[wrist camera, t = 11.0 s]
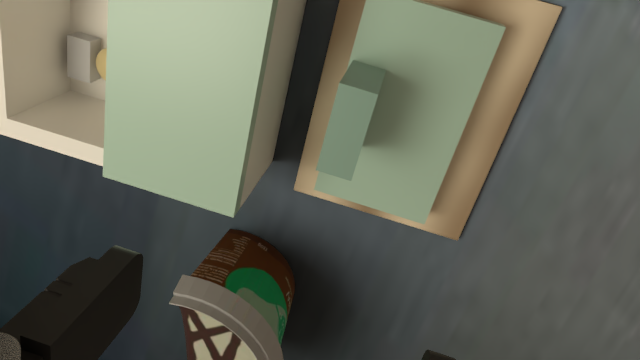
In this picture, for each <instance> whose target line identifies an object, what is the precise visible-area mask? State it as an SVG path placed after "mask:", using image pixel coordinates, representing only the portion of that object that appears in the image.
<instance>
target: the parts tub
mask: <svg viewBox="0 0 640 360" xmlns="http://www.w3.org/2000/svg"><path fill="white" fill-rule="evenodd" d="M306 1H307V0H0V134H2V135H5V136H8V137H11V138H15V139H18V140H21V141H24V142H27V143H30V144H34V145H37V146H40V147H43V148H46V149H50V150H53V151H56V152H59V153H62V154H65V155H69V156H72V157H75V158H78V159H81V160H85V161H88V162H91V163H94V164H97V165H100V166H103V177H106V178H109V179H113V180H116V181H119V182H122V183H125V184H128V185H132V186H135V187H138V188H141V189H144V190H147V191H151V192H154V193H157V194H160V195H163V196H166V197H170V198H173V199H176V200H179V201H182V202H185V203H189V204H192V205H195V206H198V207H201V208H204V209H208V210H211V211H214V212H217V213H220V214H223V215H227V216H230V217H233V218H234V216H235V215H236V213H237V212H238V210H239V209H240V208H241V206H242V205H243V203H244V202H245V200H246V199H247V197H248V196H249V194H250V193H251V192H252V190H253V189H254V187H255V186H256V184H257V183H258V181H259V180H260V179H261V177H262V176H263V174H264V173H265V171H266V170H267V168H268V167H269V165H270V164H271V163H272V161H273V156H274V152H275V147H276V142H277V138H278V133H279V128H280V123H281V119H282V114H283V109H284V105H285V100H286V95H287V90H288V86H289V81H290V76H291V72H292V67H293V62H294V57H295V53H296V48H297V43H298V39H299V34H300V29H301V24H302V20H303V15H304V10H305V6H306Z"/></svg>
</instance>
